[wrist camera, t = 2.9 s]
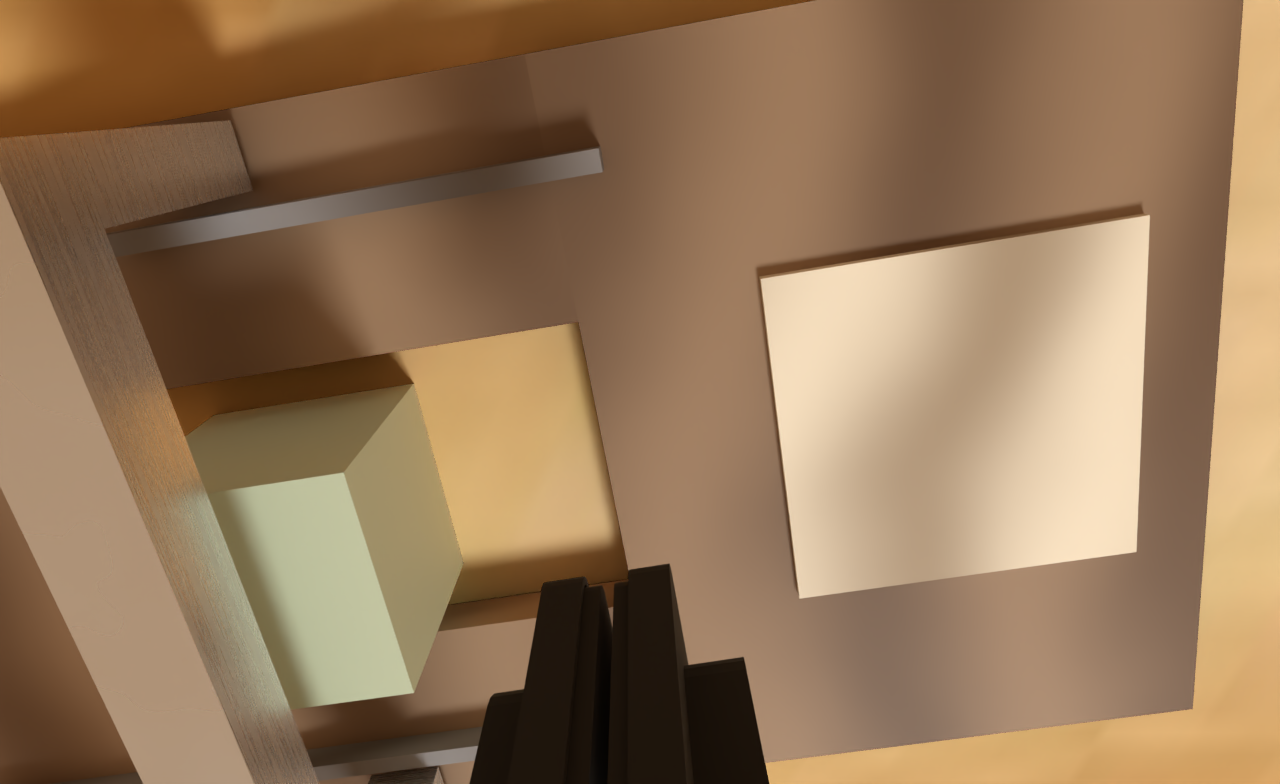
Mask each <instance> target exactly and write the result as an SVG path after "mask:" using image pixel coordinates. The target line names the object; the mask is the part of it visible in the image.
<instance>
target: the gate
mask: <svg viewBox="0 0 1280 784" xmlns="http://www.w3.org/2000/svg"><path fill="white" fill-rule="evenodd" d="M252 190H253V189H252V186H251V183H250V180H249V177H248V173H247V170H246V167H245V164H244V161H243V158H242V155H241V152H240V149H239V145H238V142H237V139H236V136H235V133H234V130H233V127H232V124H231V121H230V120H227V121H214V122H201V123H188V124H175V125H162V126H149V127H135V128H122V129H109V130H96V131H83V132H70V133H57V134H43V135H30V136H17V137H4V138H0V487H1V489H2V491H3V493H4V496H5V498H6V500H7V502H8V504H9V506H10V508H11V510H12V512H13V514H14V516H15V518H16V520H17V523H18V525H19V527H20V529H21V531H22V533H23V535H24V537H25V539H26V541H27V543H28V545H29V547H30V550H31V552H32V554H33V556H34V558H35V560H36V562H37V564H38V566H39V568H40V570H41V572H42V575H43V577H44V579H45V581H46V583H47V585H48V587H49V589H50V591H51V593H52V595H53V597H54V599H55V602H56V604H57V606H58V608H59V610H60V612H61V614H62V616H63V618H64V620H65V622H66V624H67V627H68V629H69V631H70V633H71V635H72V637H73V639H74V641H75V643H76V645H77V647H78V649H79V651H80V654H81V656H82V658H83V660H84V662H85V664H86V666H87V668H88V670H89V672H90V674H91V676H92V679H93V681H94V683H95V685H96V687H97V689H98V691H99V693H100V695H101V697H102V699H103V701H104V703H105V706H106V708H107V710H108V712H109V714H110V716H111V718H112V720H113V722H114V724H115V726H116V728H117V730H118V733H119V735H120V737H121V739H122V741H123V743H124V745H125V747H126V749H127V751H128V753H129V755H130V758H131V760H132V762H133V764H134V766H135V768H136V770H137V772H138V774H139V776H140V778H141V780H142V782H143V784H319V782H318V779H317V776H316V774H315V771H314V769H313V766H312V763H311V761H310V758H309V756H308V753H307V751H306V748H305V745H304V743H303V740H302V738H301V735H300V733H299V730H298V727H297V725H296V722H295V720H294V717H293V714H292V712H291V709H290V707H289V704H288V702H287V699H286V696H285V694H284V691H283V689H282V686H281V683H280V681H279V678H278V676H277V673H276V671H275V668H274V665H273V663H272V660H271V658H270V655H269V653H268V650H267V647H266V645H265V642H264V640H263V637H262V634H261V632H260V629H259V627H258V624H257V622H256V619H255V616H254V614H253V611H252V609H251V606H250V604H249V601H248V598H247V596H246V593H245V591H244V588H243V585H242V583H241V580H240V578H239V575H238V573H237V570H236V567H235V565H234V562H233V560H232V557H231V555H230V552H229V549H228V547H227V544H226V542H225V539H224V536H223V534H222V531H221V529H220V526H219V524H218V521H217V518H216V516H215V513H214V511H213V508H212V505H211V503H210V500H209V498H208V495H207V493H206V490H205V487H204V485H203V482H202V480H201V477H200V475H199V472H198V469H197V467H196V464H195V462H194V459H193V456H192V454H191V451H190V449H189V446H188V444H187V441H186V438H185V436H184V433H183V431H182V428H181V426H180V423H179V420H178V418H177V415H176V413H175V410H174V407H173V405H172V402H171V400H170V397H169V395H168V392H167V389H166V387H165V384H164V382H163V379H162V376H161V374H160V371H159V369H158V366H157V364H156V361H155V358H154V356H153V353H152V351H151V348H150V346H149V343H148V340H147V338H146V335H145V333H144V330H143V327H142V325H141V322H140V320H139V317H138V315H137V312H136V309H135V307H134V304H133V302H132V299H131V297H130V294H129V291H128V289H127V286H126V284H125V281H124V278H123V276H122V273H121V271H120V268H119V266H118V263H117V260H116V258H115V255H114V253H113V250H112V247H111V245H110V242H109V240H108V237H107V235H106V232H105V228H109V227H113V226H117V225H121V224H125V223H129V222H132V221H136V220H140V219H144V218H148V217H152V216H156V215H160V214H163V213H167V212H171V211H175V210H179V209H183V208H187V207H191V206H194V205H198V204H202V203H206V202H210V201H214V200H218V199H221V198H225V197H229V196H233V195H237V194H241V193H245V192H249V191H252ZM368 784H444V783H443V780H442V776H441V773H440V770H439V767H438V766H437V767H429V768H421V769H414V770H406V771H398V772H390V773H383V774H375V775H371V777H370V780H369V782H368Z"/></svg>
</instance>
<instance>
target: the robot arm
mask: <svg viewBox="0 0 1280 784" xmlns="http://www.w3.org/2000/svg"><path fill="white" fill-rule="evenodd" d="M469 784H769V780H768V775H767V770H766V765H765V760H764V755H763V750H762V745H761V740H760V735H759V730H758V725H757V720H756V715H755V710H754V705H753V700H752V695H751V690H750V685H749V680H748V675H747V670H746V665H745V660H744V657H739V658H732V659H726V660H719V661H712V662H705V663H698V664H691V665H689V664H688V659H687V653H686V648H685V642H684V637H683V631H682V626H681V620H680V615H679V609H678V604H677V598H676V593H675V587H674V582H673V576H672V571H671V567H670V563H669V564H662V565H656V566H649V567H643V568H636V569H630V570H629V573H628V581H625V582H618V583H615V584H614V598H613V627H612V623H611V618H610V614H609V609H608V604H607V600H606V595H605V591H604V588H603V586H602V585H599V586H592V587H589V585H588V582H587V579H586V578H585V576H584V577H577V578H571V579H564V580H558V581H551V582H545V583H543V586H542V590H541V595H540V601H539V607H538V612H537V618H536V624H535V629H534V635H533V641H532V646H531V652H530V658H529V663H528V669H527V674H526V680H525V686H524V689H521V690H514V691H507V692H501V693H494V694H493V695H492V696H491V697H490V700H489V703H488V706H487V709H486V714H485V718H484V722H483V727H482V731H481V735H480V740H479V744H478V748H477V753H476V757H475V761H474V766H473V770H472V774H471V779H470V783H469Z"/></svg>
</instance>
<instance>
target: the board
mask: <svg viewBox="0 0 1280 784" xmlns="http://www.w3.org/2000/svg"><path fill="white" fill-rule="evenodd" d="M1242 11H1243V0H815V1H809V2H804V3H799V4H793V5H788V6H782V7H777V8H771V9H766V10H761V11H755V12H750V13H744V14H739V15H734V16H728V17H723V18H717V19H712V20H707V21H701V22H696V23H690V24H685V25H680V26H674V27H669V28H663V29H658V30H653V31H647V32H642V33H636V34H631V35H626V36H620V37H615V38H609V39H604V40H599V41H593V42H588V43H582V44H577V45H572V46H566V47H561V48H555V49H550V50H544V51H539V52H534V53H528V54H523V55H517V56H512V57H507V58H501V59H496V60H490V61H485V62H480V63H474V64H469V65H463V66H458V67H453V68H447V69H442V70H436V71H431V72H426V73H420V74H415V75H409V76H404V77H399V78H393V79H388V80H382V81H377V82H372V83H366V84H361V85H355V86H350V87H345V88H339V89H334V90H328V91H323V92H318V93H312V94H307V95H301V96H296V97H290V98H285V99H280V100H274V101H269V102H263V103H258V104H253V105H247V106H242V107H236V108H231V109H226V110H220V111H215V112H209V113H204V114H199V115H193V116H188V117H182V118H177V119H172V120H166V121H161V122H155V123H150V124H145V125H139V126H134V127H128V128H135V127H149V126H162V125H175V124H188V123H201V122H214V121H227V120H230V121H231V124H232V127H233V130H234V133H235V136H236V139H237V142H238V145H239V149H240V152H241V155H242V158H243V161H244V164H245V167H246V170H247V173H248V177H249V180H250V183H251V186H252V189H253V190H252V191H249V192H245V193H241V194H237V195H233V196H229V197H225V198H221V199H218V200H214V201H210V202H206V203H202V204H198V205H194V206H191V207H187V208H183V209H179V210H175V211H171V212H167V213H163V214H160V215H156V216H152V217H148V218H144V219H140V220H136V221H132V222H129V223H125V224H121V225H117V226H113V227H109V228H105V232H106V235H107V237H108V240H109V242H110V245H111V247H112V250H113V253H114V255H115V258H116V260H117V263H118V266H119V268H120V271H121V273H122V276H123V278H124V281H125V284H126V286H127V289H128V291H129V294H130V297H131V299H132V302H133V304H134V307H135V309H136V312H137V315H138V317H139V320H140V322H141V325H142V327H143V330H144V333H145V335H146V338H147V340H148V343H149V346H150V348H151V351H152V353H153V356H154V358H155V361H156V364H157V366H158V369H159V371H160V374H161V376H162V379H163V382H164V384H165V387H166V389H170V388H176V387H183V386H189V385H195V384H201V383H207V382H213V381H219V380H226V379H232V378H238V377H244V376H250V375H256V374H262V373H268V372H275V371H281V370H287V369H293V368H299V367H305V366H311V365H318V364H324V363H330V362H336V361H342V360H348V359H354V358H361V357H367V356H373V355H379V354H385V353H391V352H397V351H403V350H410V349H416V348H422V347H428V346H434V345H440V344H446V343H453V342H459V341H465V340H471V339H477V338H483V337H489V336H496V335H502V334H508V333H514V332H520V331H526V330H532V329H538V328H545V327H551V326H557V325H563V324H569V323H575V322H579V327H580V332H581V337H582V342H583V347H584V352H585V357H586V362H587V367H588V372H589V377H590V382H591V387H592V392H593V396H594V401H595V406H596V411H597V416H598V421H599V426H600V431H601V436H602V441H603V446H604V451H605V456H606V461H607V466H608V471H609V476H610V481H611V486H612V491H613V496H614V501H615V506H616V511H617V516H618V521H619V526H620V531H621V536H622V541H623V546H624V550H625V555H626V560H627V565H628V570H630V569H636V568H643V567H649V566H656V565H662V564H669V563H670V567H671V571H672V576H673V582H674V587H675V593H676V598H677V604H678V609H679V615H680V620H681V626H682V631H683V637H684V642H685V648H686V653H687V659H688V664H689V665H691V664H698V663H705V662H712V661H719V660H726V659H732V658H739V657H744V660H745V665H746V670H747V675H748V680H749V685H750V690H751V695H752V700H753V705H754V710H755V715H756V720H757V725H758V730H759V735H760V740H761V745H762V750H763V755H764V760H765V763H768V762H776V761H784V760H792V759H800V758H808V757H816V756H823V755H831V754H839V753H847V752H855V751H863V750H871V749H879V748H887V747H895V746H903V745H911V744H919V743H927V742H934V741H942V740H950V739H958V738H966V737H974V736H982V735H990V734H998V733H1006V732H1014V731H1022V730H1030V729H1038V728H1045V727H1053V726H1061V725H1069V724H1077V723H1085V722H1093V721H1101V720H1109V719H1117V718H1125V717H1133V716H1141V715H1149V714H1156V713H1164V712H1172V711H1180V710H1188V709H1193V696H1194V682H1195V668H1196V654H1197V640H1198V626H1199V612H1200V598H1201V584H1202V570H1203V556H1204V542H1205V528H1206V514H1207V500H1208V486H1209V472H1210V458H1211V444H1212V430H1213V416H1214V402H1215V388H1216V375H1217V361H1218V347H1219V333H1220V319H1221V305H1222V291H1223V277H1224V263H1225V249H1226V235H1227V221H1228V207H1229V193H1230V179H1231V165H1232V151H1233V137H1234V123H1235V109H1236V95H1237V81H1238V67H1239V53H1240V39H1241V25H1242ZM625 581H628V580H622V581H615V582H608V583H601V584H594V585H589V587H592V586H599V585H602V586H603V588H604V591H605V595H606V600H607V604H608V609H609V614H610V618H611V623H612V627H613V598H614V584H615V583H618V582H625ZM540 595H541V592H537V593H530V594H523V595H516V596H509V597H502V598H495V599H488V600H481V601H474V602H467V603H460V604H453V605H448V606H447V608H446V611H445V613H444V616H443V619H442V621H441V624H440V626H439V629H438V632H437V634H436V637H435V639H434V642H433V645H432V647H431V650H430V652H429V655H428V658H427V660H426V663H425V666H424V668H423V671H422V673H421V676H420V679H419V681H418V684H417V686H416V689H415V692H414V693H410V694H403V695H396V696H388V697H381V698H373V699H366V700H359V701H351V702H344V703H336V704H329V705H322V706H314V707H307V708H300V709H292V710H291V712H292V714H293V717H294V720H295V722H296V725H297V727H298V730H299V733H300V735H301V738H302V740H303V743H304V745H305V748H306V751H307V753H308V756H309V758H310V761H311V763H312V766H313V769H314V771H315V774H316V776H317V779H318V782H319V784H368V782H369V780H370V777H371V775H375V774H383V773H390V772H398V771H406V770H414V769H421V768H429V767H437V766H438V767H439V770H440V773H441V776H442V780H443V783H444V784H469V783H470V779H471V774H472V770H473V766H474V761H475V757H476V753H477V748H478V744H479V740H480V735H481V731H482V727H483V722H484V718H485V714H486V709H487V706H488V703H489V700H490V697H491V696H492V695H493V694H494V693H501V692H507V691H514V690H521V689H524V686H525V680H526V674H527V669H528V663H529V658H530V652H531V646H532V641H533V635H534V629H535V624H536V618H537V612H538V607H539V601H540ZM0 784H143V782H142V780H141V778H140V776H139V774H138V772H137V770H136V768H135V766H134V764H133V762H132V760H131V758H130V755H129V753H128V751H127V749H126V747H125V745H124V743H123V741H122V739H121V737H120V735H119V733H118V730H117V728H116V726H115V724H114V722H113V720H112V718H111V716H110V714H109V712H108V710H107V708H106V706H105V703H104V701H103V699H102V697H101V695H100V693H99V691H98V689H97V687H96V685H95V683H94V681H93V679H92V676H91V674H90V672H89V670H88V668H87V666H86V664H85V662H84V660H83V658H82V656H81V654H80V651H79V649H78V647H77V645H76V643H75V641H74V639H73V637H72V635H71V633H70V631H69V629H68V627H67V624H66V622H65V620H64V618H63V616H62V614H61V612H60V610H59V608H58V606H57V604H56V602H55V599H54V597H53V595H52V593H51V591H50V589H49V587H48V585H47V583H46V581H45V579H44V577H43V575H42V572H41V570H40V568H39V566H38V564H37V562H36V560H35V558H34V556H33V554H32V552H31V550H30V547H29V545H28V543H27V541H26V539H25V537H24V535H23V533H22V531H21V529H20V527H19V525H18V523H17V520H16V518H15V516H14V514H13V512H12V510H11V508H10V506H9V504H8V502H7V500H6V498H5V496H4V493H3V491H2V489H1V487H0Z"/></svg>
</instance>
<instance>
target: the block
mask: <svg viewBox="0 0 1280 784" xmlns="http://www.w3.org/2000/svg"><path fill="white" fill-rule="evenodd" d="M185 438H186V441H187V444H188V446H189V449H190V451H191V454H192V456H193V459H194V462H195V464H196V467H197V469H198V472H199V475H200V477H201V480H202V482H203V485H204V487H205V490H206V493H207V495H208V498H209V500H210V503H211V505H212V508H213V511H214V513H215V516H216V518H217V521H218V524H219V526H220V529H221V531H222V534H223V536H224V539H225V542H226V544H227V547H228V549H229V552H230V555H231V557H232V560H233V562H234V565H235V567H236V570H237V573H238V575H239V578H240V580H241V583H242V585H243V588H244V591H245V593H246V596H247V598H248V601H249V604H250V606H251V609H252V611H253V614H254V616H255V619H256V622H257V624H258V627H259V629H260V632H261V634H262V637H263V640H264V642H265V645H266V647H267V650H268V653H269V655H270V658H271V660H272V663H273V665H274V668H275V671H276V673H277V676H278V678H279V681H280V683H281V686H282V689H283V691H284V694H285V696H286V699H287V702H288V704H289V707H290V709H291V710H292V709H300V708H307V707H314V706H322V705H329V704H336V703H344V702H351V701H359V700H366V699H373V698H381V697H388V696H396V695H403V694H410V693H414V692H415V689H416V686H417V684H418V681H419V679H420V676H421V673H422V671H423V668H424V666H425V663H426V660H427V658H428V655H429V652H430V650H431V647H432V645H433V642H434V639H435V637H436V634H437V632H438V629H439V626H440V624H441V621H442V619H443V616H444V613H445V611H446V608H447V606H448V603H449V600H450V598H451V595H452V593H453V590H454V587H455V585H456V582H457V579H458V577H459V574H460V572H461V569H462V566H463V564H464V563H463V559H462V556H461V552H460V548H459V545H458V541H457V538H456V534H455V530H454V527H453V523H452V519H451V516H450V512H449V509H448V505H447V501H446V498H445V494H444V491H443V487H442V483H441V480H440V476H439V473H438V469H437V465H436V462H435V458H434V454H433V451H432V447H431V444H430V440H429V436H428V433H427V429H426V426H425V422H424V418H423V415H422V411H421V407H420V404H419V400H418V397H417V393H416V389H415V386H414V383H413V384H407V385H401V386H395V387H388V388H382V389H376V390H369V391H363V392H357V393H350V394H344V395H338V396H331V397H325V398H319V399H313V400H306V401H300V402H294V403H287V404H281V405H275V406H268V407H262V408H256V409H249V410H243V411H237V412H231V413H224V414H218V415H213V416H212V417H211V418H209V419H208V420H207V421H205V422H204V423H203V424H201V425H200V426H199V427H197V428H196V429H195V430H193V431H192V432H191V433H189V434H188V435H187V436H185Z"/></svg>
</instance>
